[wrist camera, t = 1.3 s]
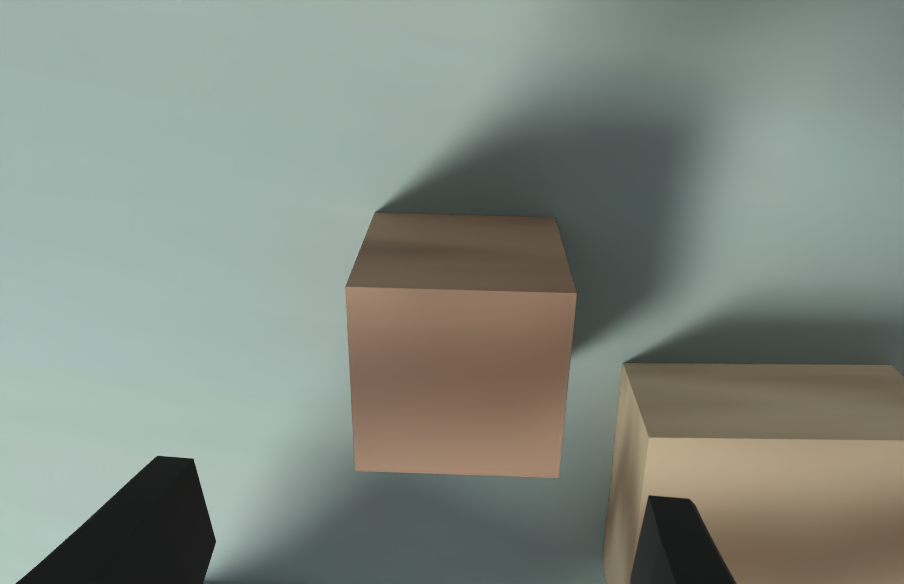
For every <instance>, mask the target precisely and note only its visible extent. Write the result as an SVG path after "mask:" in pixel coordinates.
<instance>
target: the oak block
mask: <svg viewBox="0 0 904 584" xmlns="http://www.w3.org/2000/svg"><path fill="white" fill-rule="evenodd" d="M648 495H651V496H663V497H676V498H688V499H690V500H691V501H692V502H693V503H694V504H695V505H696V507H697V509H698V511H699V513H700V515H701V518H702V520H703V522H704V524H705V526H706V528H707V530H708V532H709V534H710V535H711V537H712V539H713V541H714V543H715V545H716V547H717V549H718V551H719V553H720V554H721V556H722V558H723V560H724V562H725V564H726V565H727V567H728V569H729V571H730V573H731V574H732V576H733V578H734V580H735V582H736V583H737V584H904V376H903V375H902V374H901V373H900V372H899V371H898V370H897V369H896V368H895V367H894V366H893V365H822V364H694V363H623V367H622V376H621V386H620V395H619V405H618V414H617V424H616V433H615V443H614V452H613V462H612V471H611V481H610V490H609V500H608V509H607V519H606V528H605V538H604V547H603V557H602V561H603V566H604V571H605V576H606V581H607V584H630V577H631V572H632V568H633V563H634V559H635V554H636V550H637V545H638V541H639V536H640V532H641V527H642V523H643V518H644V513H645V509H646V504H647V500H648Z"/></svg>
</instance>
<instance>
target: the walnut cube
mask: <svg viewBox="0 0 904 584" xmlns="http://www.w3.org/2000/svg"><path fill="white" fill-rule="evenodd" d="M345 289H346V308H347V327H348V346H349V365H350V384H351V403H352V422H353V442H354V461H355V471H371V472H400V473H429V474H459V475H488V476H517V477H546V478H559V470H560V460H561V450H562V440H563V429H564V419H565V409H566V399H567V389H568V379H569V369H570V359H571V349H572V339H573V329H574V319H575V308H576V298H577V292H576V288H575V285H574V281H573V278H572V274H571V271H570V267H569V264H568V260H567V257H566V253H565V250H564V246H563V243H562V239H561V236H560V232H559V229H558V225H557V222H556V218H555V217H533V216H494V215H454V214H415V213H376V212H375V213H374V216H373V218H372V221H371V223H370V226H369V229H368V231H367V234H366V236H365V239H364V241H363V244H362V246H361V249H360V251H359V254H358V256H357V259H356V261H355V264H354V266H353V269H352V271H351V274H350V276H349V279H348V281H347V284H346V286H345Z"/></svg>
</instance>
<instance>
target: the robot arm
mask: <svg viewBox="0 0 904 584" xmlns="http://www.w3.org/2000/svg"><path fill="white" fill-rule="evenodd" d="M215 543H216V540H215V536H214V532H213V529H212V525H211V521H210V518H209V514H208V510H207V507H206V503H205V499H204V496H203V492H202V488H201V485H200V481H199V477H198V474H197V470H196V466H195V463H194V459H190V458H177V457H165V456H157V457H155V458H154V459H153V460H152V461H151V462H150V463H149V464H148V465H146V466H145V467H144V468H143V469H142V470H141V471H140V472H139V473H138V474H137V475H135V476H134V477H133V478H132V479H131V480H130V481H129V482H128V483H127V484H126V485H125V486H124V487H123V488H121V489H120V490H119V491H118V492H117V493H116V494H115V495H114V496H113V497H112V498H111V499H110V500H109V501H108V502H106V503H105V504H104V505H103V506H102V507H101V508H100V509H99V510H98V511H97V512H96V513H95V514H93V515H92V516H91V517H90V518H89V519H88V520H87V521H86V522H85V523H84V524H83V525H82V526H80V527H79V528H78V529H77V530H76V531H75V532H74V533H73V534H72V535H70V536H69V537H68V538H67V539H66V540H65V541H64V542H63V543H62V544H60V545H59V546H58V547H57V548H56V549H55V550H54V551H53V552H51V553H50V554H49V555H48V556H47V557H46V558H45V559H44V560H43V561H41V562H40V563H39V564H38V565H37V566H36V567H35V568H33V569H32V570H31V571H30V572H29V573H28V574H26V575H25V576H24V577H23V578H22V579H21V580H19V581H18V582H17V583H16V584H203V581H204V578H205V575H206V572H207V569H208V566H209V563H210V559H211V556H212V553H213V550H214V546H215ZM630 584H737V583H736V582H735V580H734V578H733V576H732V574H731V573H730V571H729V569H728V567H727V565H726V564H725V562H724V560H723V558H722V556H721V554H720V553H719V551H718V549H717V547H716V545H715V543H714V541H713V539H712V537H711V535H710V534H709V532H708V530H707V528H706V526H705V524H704V522H703V520H702V518H701V515H700V513H699V511H698V509H697V507H696V505H695V504H694V503H693V502H692V501H691V500H690V499H688V498H676V497H663V496H651V495H648V500H647V504H646V509H645V513H644V518H643V523H642V527H641V532H640V536H639V541H638V545H637V550H636V554H635V559H634V563H633V568H632V572H631V577H630Z"/></svg>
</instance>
